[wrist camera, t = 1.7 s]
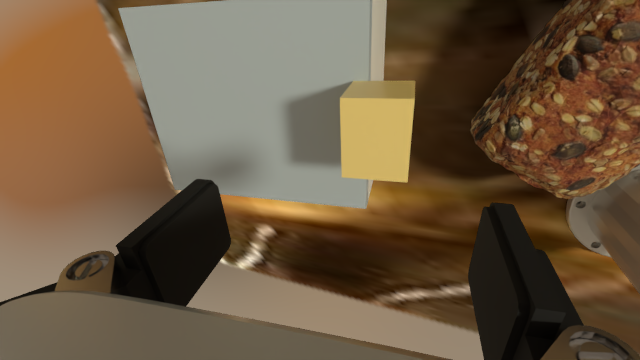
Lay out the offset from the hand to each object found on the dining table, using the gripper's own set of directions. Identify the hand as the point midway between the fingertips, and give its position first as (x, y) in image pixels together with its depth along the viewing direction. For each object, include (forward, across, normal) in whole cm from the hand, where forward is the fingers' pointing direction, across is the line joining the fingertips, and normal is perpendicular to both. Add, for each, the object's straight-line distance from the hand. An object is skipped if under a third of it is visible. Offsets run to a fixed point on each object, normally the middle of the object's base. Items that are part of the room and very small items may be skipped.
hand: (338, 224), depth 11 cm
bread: (+25, -17, -1) cm, 30 cm away
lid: (+15, +8, 0) cm, 17 cm away
